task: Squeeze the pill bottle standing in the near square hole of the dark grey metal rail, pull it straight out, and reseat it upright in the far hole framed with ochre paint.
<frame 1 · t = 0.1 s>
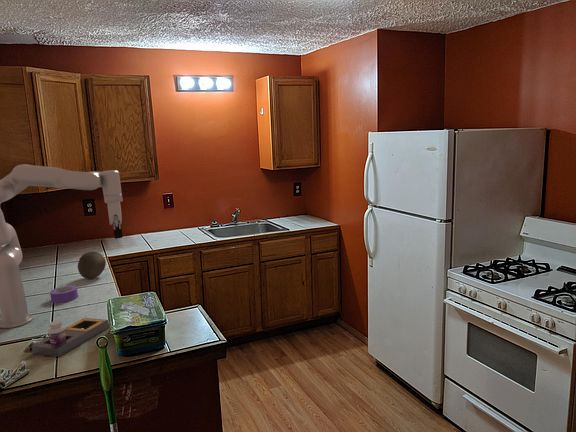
hand: (118, 236, 199), 31 cm above the worktop, tool pointing down, fingers open, 9 cm apart
cantaloupe: (93, 278, 248), on the worktop
tape roll: (65, 299, 216), on the worktop
pill bottle: (59, 348, 161), resting in hole rail
hole rail: (73, 339, 167), on the worktop
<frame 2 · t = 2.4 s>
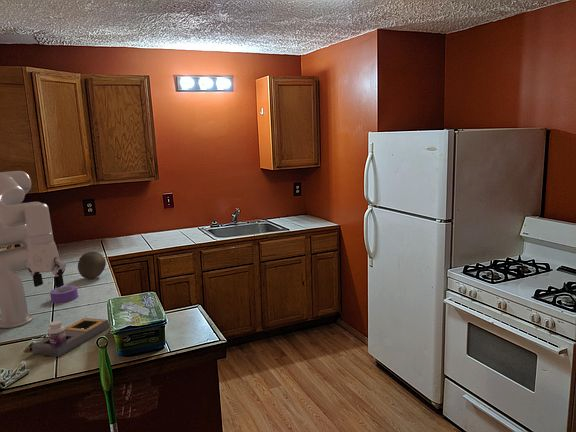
hand: (49, 286, 157), 23 cm above the worktop, tool pointing down, fingers open, 9 cm apart
nothing on the worktop moved.
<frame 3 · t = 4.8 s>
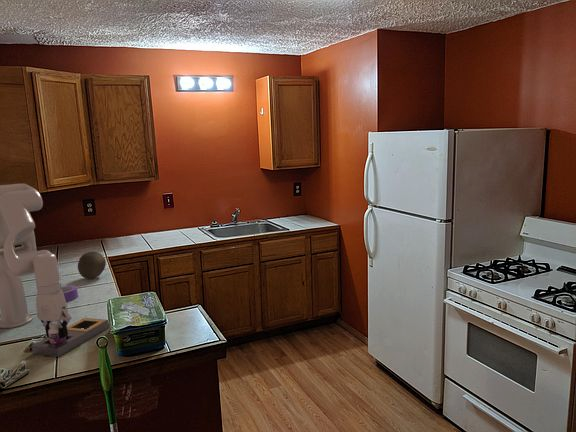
hand: (57, 335, 160), 5 cm above the worktop, tool pointing down, fingers closed on pill bottle, 5 cm apart
pill bottle: (59, 348, 161), resting in hole rail, touching gripper
everything else where it was.
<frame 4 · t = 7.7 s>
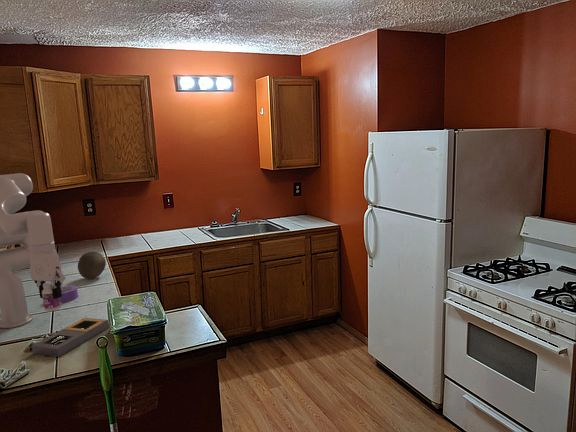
hand: (51, 296, 158), 19 cm above the worktop, tool pointing down, fingers closed on pill bottle, 5 cm apart
pill bottle: (53, 309, 159), point 14 cm above the worktop, touching gripper
everything else where it was.
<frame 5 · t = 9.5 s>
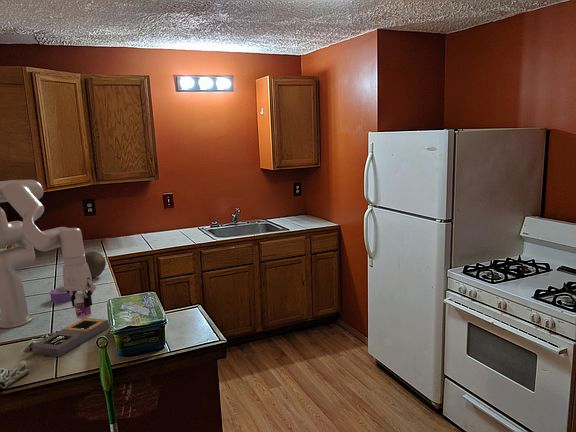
hand: (82, 305, 171), 11 cm above the worktop, tool pointing down, fingers closed on pill bottle, 5 cm apart
pill bottle: (84, 317, 172), point 6 cm above the worktop, touching gripper
everything else where it was.
when the fingers open (5 cm above the worktop, at t = 10.8 s): pill bottle stays where it is, resting in hole rail.
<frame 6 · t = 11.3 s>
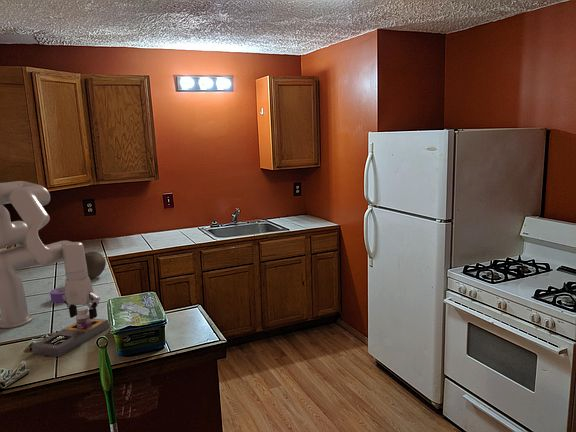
hand: (83, 317, 172), 6 cm above the worktop, tool pointing down, fingers open, 9 cm apart
pill bottle: (85, 332, 173), resting in hole rail
everything else where it was.
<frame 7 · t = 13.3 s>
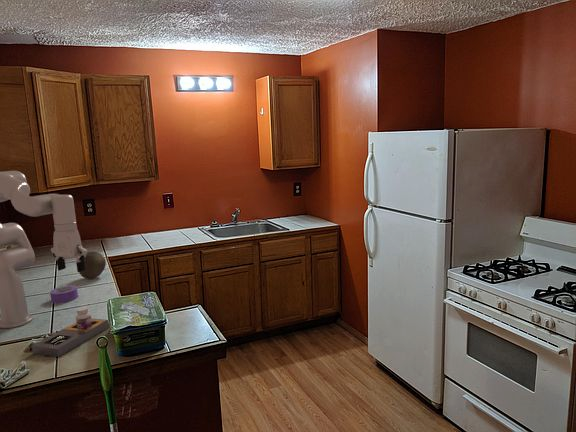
hand: (71, 270, 172), 24 cm above the worktop, tool pointing down, fingers open, 9 cm apart
nothing on the worktop moved.
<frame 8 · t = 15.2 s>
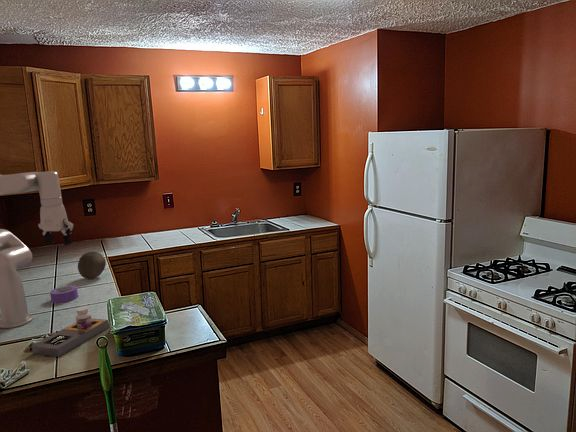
hand: (58, 244, 180), 33 cm above the worktop, tool pointing down, fingers open, 9 cm apart
nothing on the worktop moved.
at the end: pill bottle 0.2 cm from the target spot on the hole rail, point 0.0 cm above the hole rail's base; pill bottle tilted 0°; the gripper is holding nothing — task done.
